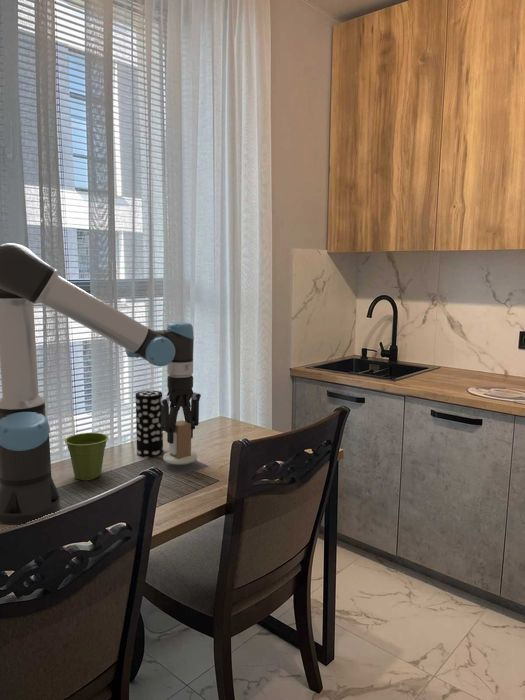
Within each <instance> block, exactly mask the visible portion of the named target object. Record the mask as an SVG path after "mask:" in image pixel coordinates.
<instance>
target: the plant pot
mask: <svg viewBox="0 0 525 700" xmlns="http://www.w3.org/2000/svg"><path fill="white" fill-rule="evenodd" d="M108 440H109V436H108V435H107V434H105V433H101V432H83V433H76V434H73V435H69V436H67V437H66V438H65V439H64V442H65V444H66V445H67V450H68V451H69V456H70V460H71V461H70V462H71V465H72V470H73V471H72V472H73V476H74V478H75V479H76V480H77V479H78V480H80V481H91V480H94V479H96V478H99V477H101V475H102V469H103V463H104V456H105V455H104V454H105V450H106V449H105V448H106V445H107V441H108Z"/></svg>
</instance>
